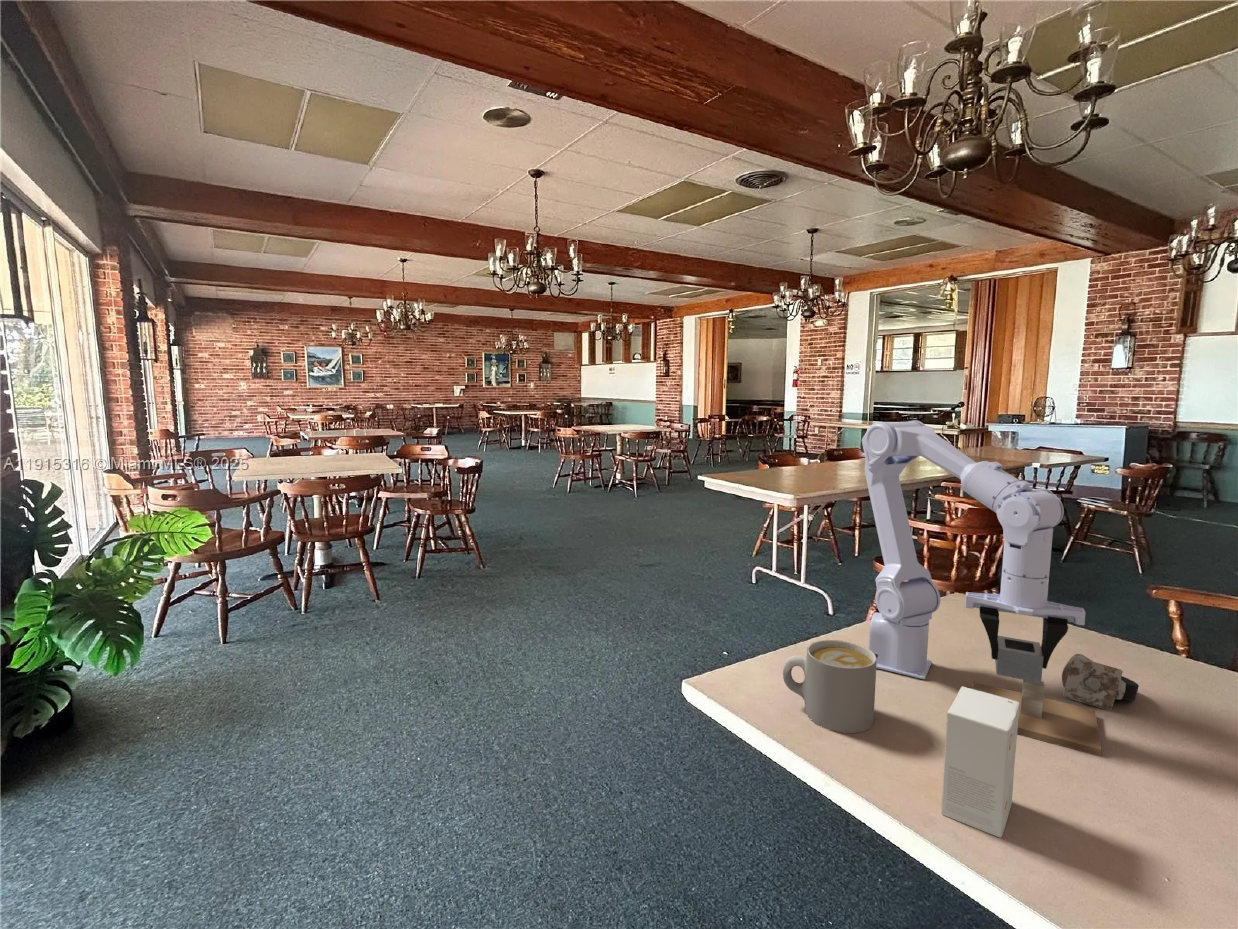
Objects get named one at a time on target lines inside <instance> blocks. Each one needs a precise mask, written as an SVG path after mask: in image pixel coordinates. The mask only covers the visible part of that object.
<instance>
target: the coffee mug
mask: <svg viewBox="0 0 1238 929" xmlns="http://www.w3.org/2000/svg"><path fill="white" fill-rule="evenodd" d="M794 667H800V668H801V669H802V671H803V675H804V679H803V681H802V682H797V681H796V680H795V679H794V678H793V676H792V670H793V668H794ZM782 669H783V670H782V677H783V681H784V684H785V686H786V687H787V688H788V690H790V691H792V692H793V693H795V694H797V695H798V696H800V697H801V698H802V700H803V701H804V711H805V712H806V713H805V712H804V713H805V715H806V714H807V715H808V717H809V718H810V719H812V721H813V722H812V721H811V722H812V723H814V722H815V723H816V724H815V723H814V724H815V725H817V724H818V725H817V726H819V727H821V726H822V727H821V728H823V727H824V728H823V729H825V728H826V730H828V729H829V730H828V731H831V730H832V732H835V731H836V733H841V732H845V733H844V734H856V733H857V732H858V733H863V732H865V731H868V730H870V729H871V728H872V727H873V725H874V721H875V720H874V718H875V700H876V699H875V697H876V681H877V680H876V678H877V668H876V656H875V654H874V653H873V652H872V651H871V650H869V648H867V647H866V646H863V645H861V644H859V643H855V642H852V641H847V640H839V639H823V640H817V641H813V642H811V643H810V644H809V645H808V646H807V649H806V655H799V654H798V655H797V654H796V655H791V656H789V657H788V658H787V659H786V660H785V661H784V664H783V668H782ZM807 715H806V716H807ZM808 717H807V718H808ZM809 718H808V719H809ZM810 719H809V720H810ZM855 732H856V733H855Z"/></svg>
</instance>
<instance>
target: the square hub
mask: <svg viewBox="0 0 1238 929" xmlns="http://www.w3.org/2000/svg"><path fill="white" fill-rule="evenodd" d="M997 643H998V654H997V660H995V659H994V660H995V672H996V676H997V675H998V676H1001V677H1007V678H1012V679H1018V680H1022V681H1023V680H1027V681H1032V682H1037V683H1041V679H1042V677H1043V676H1042V675H1043V669H1044V668H1043V653H1042V649H1041V643H1040V642H1038V641H1031V640H1026V639H1019V638H1014V637H1010V636H1003V635H998V640H997Z"/></svg>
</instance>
